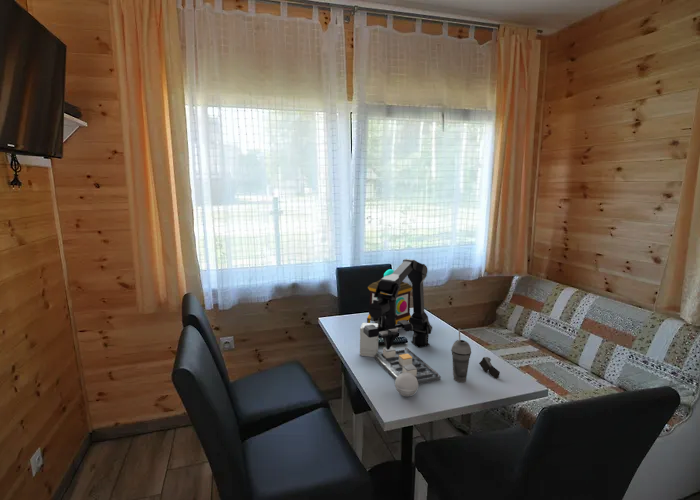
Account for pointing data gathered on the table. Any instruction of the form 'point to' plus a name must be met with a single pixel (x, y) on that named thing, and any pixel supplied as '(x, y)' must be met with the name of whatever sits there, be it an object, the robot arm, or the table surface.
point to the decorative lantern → (401, 300)
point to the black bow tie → (489, 367)
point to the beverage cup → (460, 359)
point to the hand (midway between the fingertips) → (387, 349)
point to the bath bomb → (406, 384)
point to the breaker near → (410, 369)
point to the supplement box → (368, 342)
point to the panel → (423, 369)
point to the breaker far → (389, 352)
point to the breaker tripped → (405, 359)
